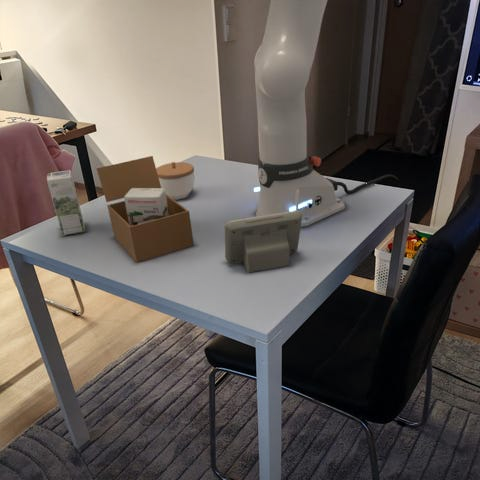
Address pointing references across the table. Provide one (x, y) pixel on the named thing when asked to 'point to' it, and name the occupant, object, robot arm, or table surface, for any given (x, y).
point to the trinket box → (176, 179)
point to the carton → (152, 231)
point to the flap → (128, 177)
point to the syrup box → (66, 202)
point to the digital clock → (263, 240)
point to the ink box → (145, 205)
